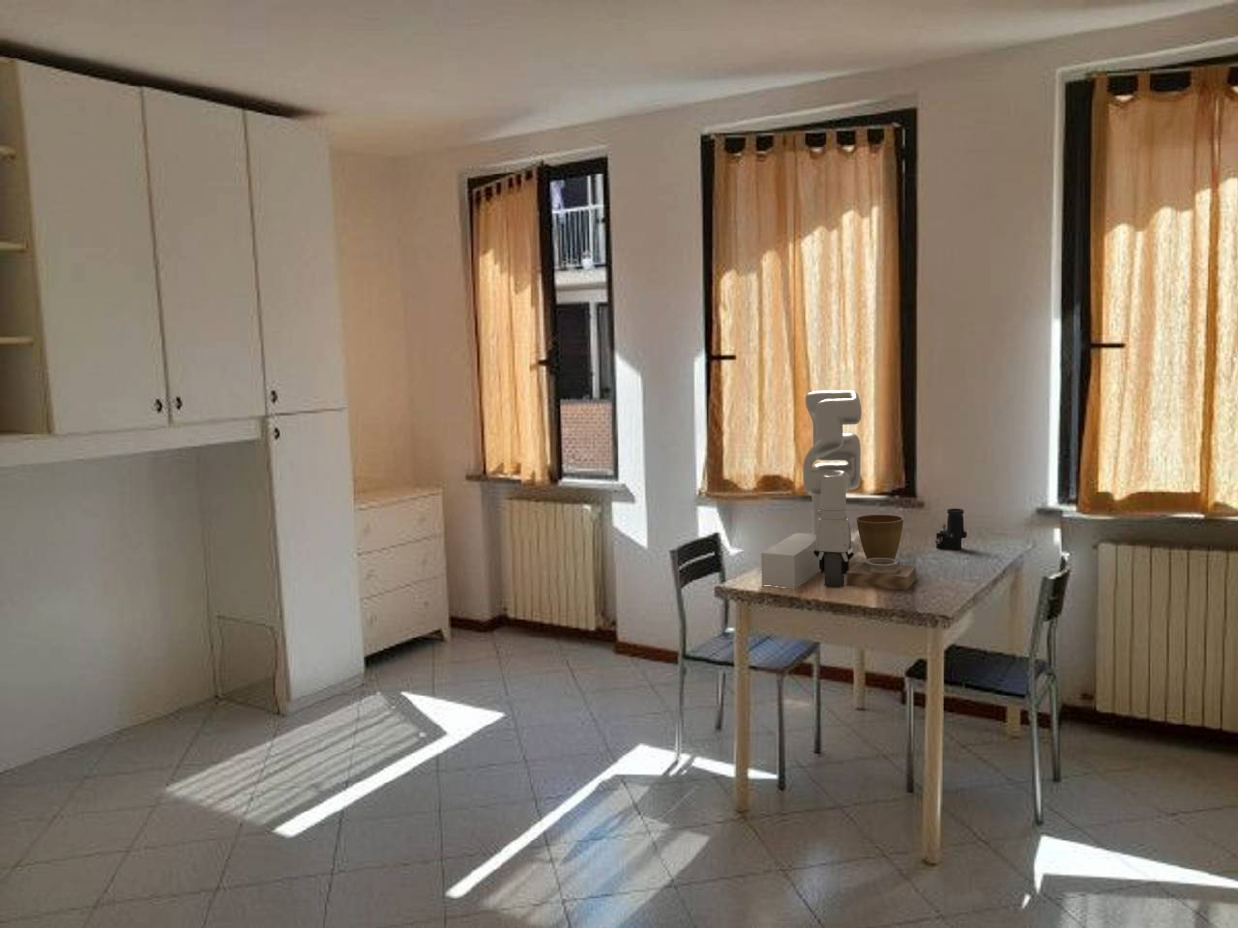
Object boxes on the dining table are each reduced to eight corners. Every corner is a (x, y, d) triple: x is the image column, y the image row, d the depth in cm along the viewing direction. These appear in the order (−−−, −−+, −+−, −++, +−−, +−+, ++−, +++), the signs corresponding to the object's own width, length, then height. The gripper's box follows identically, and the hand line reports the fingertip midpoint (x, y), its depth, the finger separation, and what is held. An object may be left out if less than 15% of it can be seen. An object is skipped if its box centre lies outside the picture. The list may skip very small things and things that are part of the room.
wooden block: (846, 585, 297) (846, 564, 296) (857, 574, 309) (857, 554, 308) (907, 590, 289) (907, 568, 288) (915, 578, 301) (915, 558, 300)
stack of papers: (796, 564, 327) (795, 532, 326) (826, 566, 322) (826, 534, 321) (761, 586, 300) (761, 552, 298) (794, 590, 294) (794, 555, 293)
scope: (942, 506, 345) (970, 508, 339) (942, 544, 347) (970, 547, 341) (934, 510, 338) (963, 512, 332) (934, 549, 340) (962, 552, 334)
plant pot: (904, 561, 324) (904, 514, 322) (901, 572, 310) (901, 523, 308) (859, 559, 329) (859, 513, 327) (854, 569, 315) (854, 521, 313)
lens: (822, 586, 296) (821, 554, 295) (827, 582, 301) (826, 549, 300) (841, 588, 293) (841, 555, 292) (846, 583, 299) (846, 551, 297)
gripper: (802, 515, 295) (803, 573, 297) (859, 517, 287) (859, 577, 289) (809, 511, 302) (809, 568, 304) (864, 513, 294) (865, 571, 296)
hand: (834, 572), depth 297 cm, fingers closed on lens, 6 cm apart
